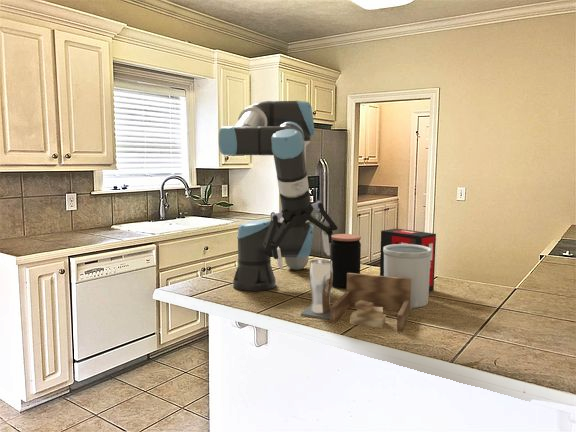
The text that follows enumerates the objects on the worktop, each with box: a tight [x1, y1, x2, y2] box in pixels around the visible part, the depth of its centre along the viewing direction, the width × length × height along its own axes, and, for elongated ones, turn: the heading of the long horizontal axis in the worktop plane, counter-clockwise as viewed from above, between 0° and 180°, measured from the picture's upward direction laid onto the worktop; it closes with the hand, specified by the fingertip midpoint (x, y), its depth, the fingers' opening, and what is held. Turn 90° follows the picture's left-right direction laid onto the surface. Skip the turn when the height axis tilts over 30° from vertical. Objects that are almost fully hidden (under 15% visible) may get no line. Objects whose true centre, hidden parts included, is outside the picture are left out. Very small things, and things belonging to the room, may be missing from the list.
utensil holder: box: [383, 244, 432, 309], centre depth 150 cm, size 15×15×18 cm
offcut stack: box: [349, 300, 387, 329], centre depth 131 cm, size 9×5×6 cm, turn 69°
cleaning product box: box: [379, 227, 437, 293], centre depth 167 cm, size 16×9×20 cm, turn 41°
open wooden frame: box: [330, 273, 411, 333], centre depth 136 cm, size 19×19×10 cm
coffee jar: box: [330, 233, 362, 290], centre depth 170 cm, size 11×11×18 cm
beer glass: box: [308, 258, 333, 314], centre depth 139 cm, size 7×7×15 cm
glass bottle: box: [284, 254, 310, 271], centre depth 194 cm, size 10×10×28 cm
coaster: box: [300, 304, 331, 320], centre depth 140 cm, size 9×9×1 cm
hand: (304, 260), depth 129 cm, fingers open, 13 cm apart
